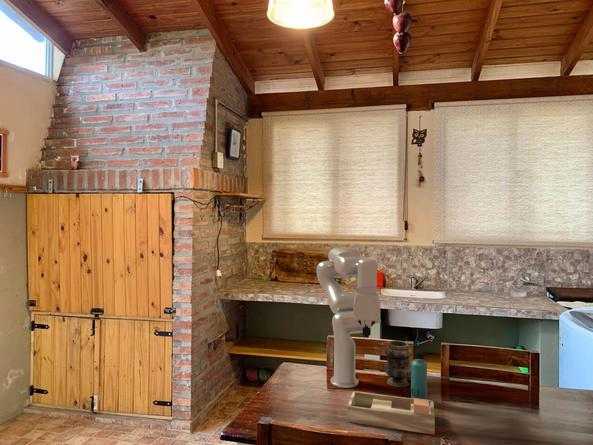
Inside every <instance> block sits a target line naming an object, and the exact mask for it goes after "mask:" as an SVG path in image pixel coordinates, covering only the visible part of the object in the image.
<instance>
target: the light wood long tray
mask: <svg viewBox="0 0 593 445" xmlns="http://www.w3.org/2000/svg"><path fill="white" fill-rule="evenodd" d="M416 399H418V398H416ZM423 400H427V399H423ZM428 400H429V416H428V415H421V414H414V398H412V397H404V396H394V395H386V394H380V393H379V394H378V393H370V392H363V391H356V390H355V391H354V390H353V391H352V394H351V396H350V399H349V401H348V404H347V405H346V406H347V407H346V408H347V409H346V414H347V416H346V418H347V419H346V422H347V423H353V424H360V425H368V426H375V427H381V428H386V429H387V428H388V429H393V430H394V429H395V430H401V431H407V432H415V433H422V434H428V435H432V436H433V435H435V433H436V432H435V431H436V430H435V428H436V427H435V426H436V424H435V423H436V422H435V421H436V420H435V419H436V417H435V408H434V407H435V406H434V401H433V400H431V399H428Z"/></svg>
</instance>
